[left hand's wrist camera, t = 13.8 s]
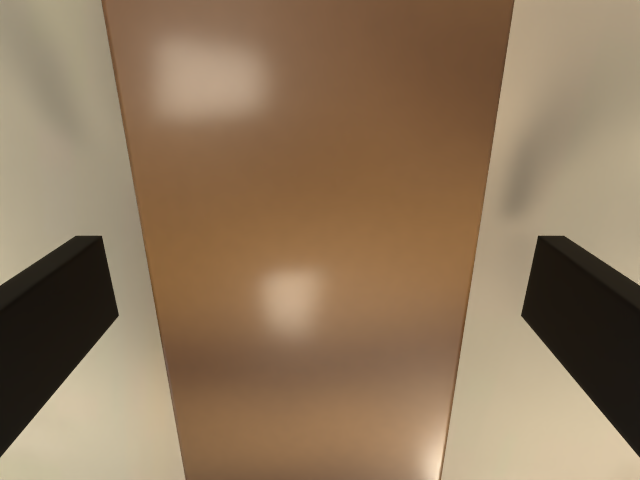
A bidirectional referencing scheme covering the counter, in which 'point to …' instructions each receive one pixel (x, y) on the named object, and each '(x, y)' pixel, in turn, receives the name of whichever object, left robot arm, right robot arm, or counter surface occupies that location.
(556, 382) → the counter surface
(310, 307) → the post
